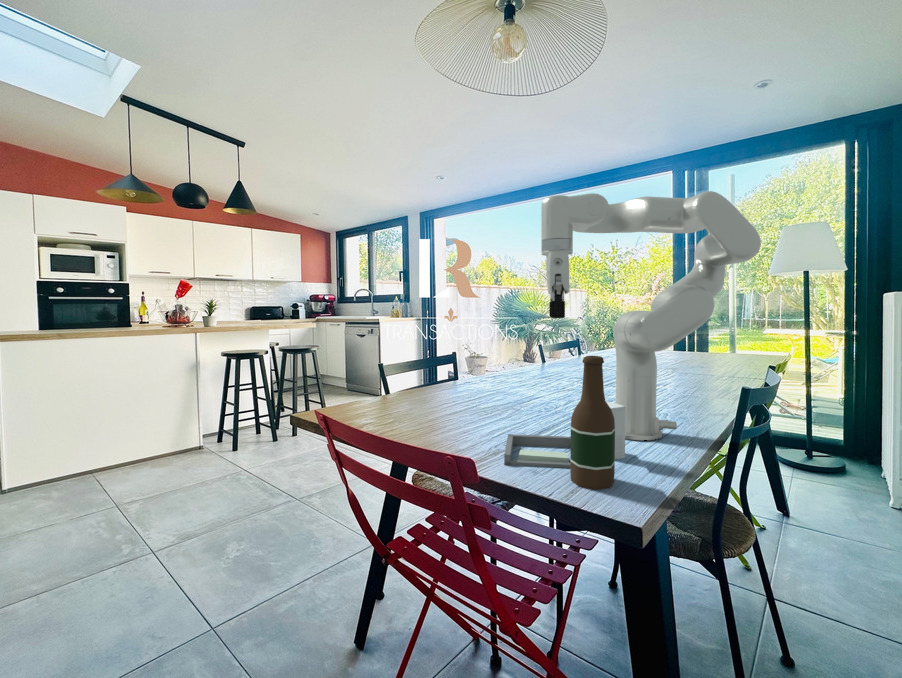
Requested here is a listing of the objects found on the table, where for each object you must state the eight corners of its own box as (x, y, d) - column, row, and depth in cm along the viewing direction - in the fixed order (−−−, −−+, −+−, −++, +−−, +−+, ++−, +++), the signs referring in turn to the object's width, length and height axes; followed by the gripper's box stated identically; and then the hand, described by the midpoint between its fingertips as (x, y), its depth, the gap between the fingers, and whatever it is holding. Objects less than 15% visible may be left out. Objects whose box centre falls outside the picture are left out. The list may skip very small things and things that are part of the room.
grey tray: (575, 449, 101) (575, 436, 101) (582, 472, 87) (582, 458, 87) (508, 446, 104) (508, 434, 103) (504, 468, 90) (504, 454, 89)
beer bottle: (623, 487, 79) (625, 356, 78) (597, 498, 75) (598, 360, 73) (587, 474, 86) (588, 353, 84) (561, 484, 81) (561, 356, 80)
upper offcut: (568, 459, 92) (568, 452, 92) (568, 465, 89) (568, 458, 89) (520, 456, 95) (520, 449, 95) (518, 461, 91) (518, 454, 91)
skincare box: (590, 455, 97) (590, 402, 96) (605, 453, 98) (606, 400, 97) (610, 464, 91) (611, 408, 90) (626, 461, 93) (626, 406, 92)
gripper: (576, 242, 99) (575, 318, 100) (569, 252, 116) (569, 316, 117) (542, 244, 100) (542, 318, 101) (540, 253, 117) (540, 317, 118)
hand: (556, 317), depth 109 cm, fingers open, 9 cm apart
